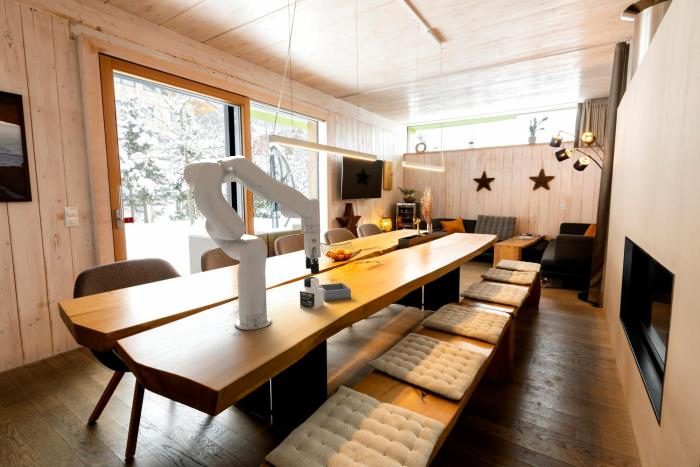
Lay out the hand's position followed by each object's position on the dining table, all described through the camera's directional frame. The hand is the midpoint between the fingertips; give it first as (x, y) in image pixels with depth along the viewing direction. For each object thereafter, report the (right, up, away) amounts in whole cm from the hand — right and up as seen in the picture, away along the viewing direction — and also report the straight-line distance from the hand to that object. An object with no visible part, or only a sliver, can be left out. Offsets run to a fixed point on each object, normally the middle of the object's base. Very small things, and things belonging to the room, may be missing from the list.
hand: (312, 270), depth 142 cm
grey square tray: (+8, -13, +15) cm, 21 cm away
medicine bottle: (0, -15, +1) cm, 15 cm away
